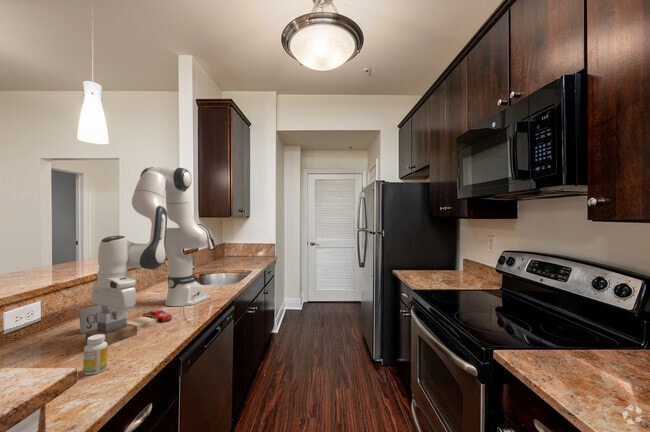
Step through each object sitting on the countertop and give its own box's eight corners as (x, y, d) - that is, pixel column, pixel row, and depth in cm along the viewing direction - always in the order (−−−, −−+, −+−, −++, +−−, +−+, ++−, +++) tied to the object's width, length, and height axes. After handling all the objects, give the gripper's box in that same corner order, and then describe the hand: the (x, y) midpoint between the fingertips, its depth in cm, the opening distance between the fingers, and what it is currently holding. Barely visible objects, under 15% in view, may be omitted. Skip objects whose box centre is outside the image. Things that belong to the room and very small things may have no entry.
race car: (174, 319, 125) (174, 310, 125) (163, 324, 120) (164, 314, 120) (151, 316, 129) (152, 307, 129) (140, 320, 124) (140, 310, 124)
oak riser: (143, 321, 122) (143, 316, 122) (156, 324, 119) (156, 319, 119) (123, 327, 115) (124, 322, 115) (137, 330, 112) (137, 325, 112)
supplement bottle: (85, 377, 79) (86, 342, 79) (81, 370, 82) (81, 337, 82) (109, 369, 83) (110, 336, 83) (104, 363, 86) (105, 331, 86)
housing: (97, 331, 103) (97, 312, 103) (117, 325, 109) (118, 306, 109) (105, 333, 101) (106, 313, 101) (126, 327, 107) (126, 308, 107)
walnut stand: (118, 330, 112) (118, 322, 112) (136, 334, 108) (136, 326, 108) (85, 340, 102) (85, 332, 102) (104, 346, 98) (104, 337, 98)
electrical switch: (80, 334, 108) (80, 309, 108) (77, 332, 111) (77, 308, 111) (110, 327, 115) (110, 304, 116) (106, 325, 118) (106, 302, 119)
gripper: (86, 279, 107) (85, 316, 106) (121, 284, 98) (120, 325, 98) (104, 276, 112) (104, 311, 112) (139, 281, 104) (139, 319, 104)
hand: (112, 318), depth 105 cm, fingers open, 6 cm apart
